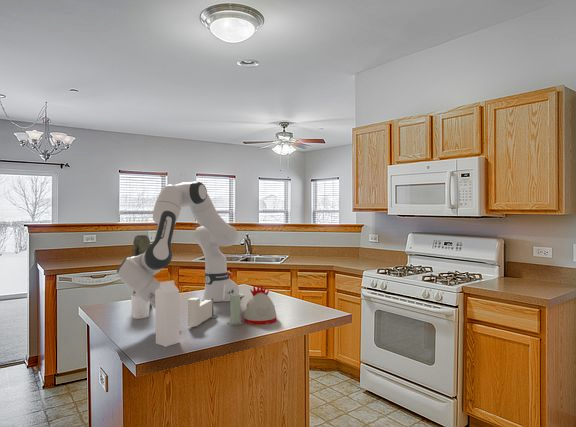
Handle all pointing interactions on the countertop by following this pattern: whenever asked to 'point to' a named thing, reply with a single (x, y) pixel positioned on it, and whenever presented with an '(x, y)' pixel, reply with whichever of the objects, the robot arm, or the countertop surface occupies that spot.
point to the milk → (167, 314)
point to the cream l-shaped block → (198, 311)
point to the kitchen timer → (260, 308)
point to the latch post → (235, 310)
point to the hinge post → (212, 310)
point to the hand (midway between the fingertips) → (177, 314)
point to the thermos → (140, 247)
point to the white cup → (139, 307)
